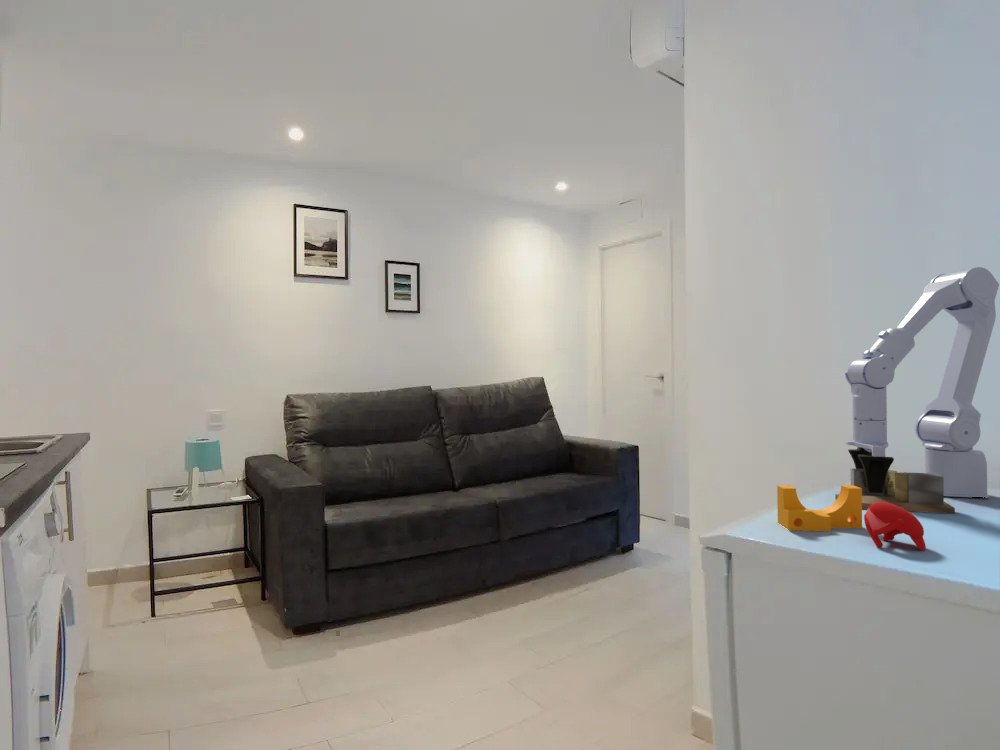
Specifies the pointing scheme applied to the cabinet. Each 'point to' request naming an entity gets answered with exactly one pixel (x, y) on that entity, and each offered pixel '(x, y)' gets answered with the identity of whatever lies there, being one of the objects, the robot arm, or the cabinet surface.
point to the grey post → (860, 481)
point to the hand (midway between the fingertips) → (870, 488)
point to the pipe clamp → (835, 516)
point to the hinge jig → (915, 494)
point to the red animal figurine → (892, 523)
